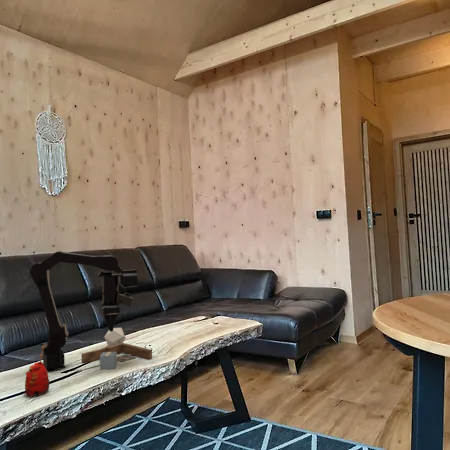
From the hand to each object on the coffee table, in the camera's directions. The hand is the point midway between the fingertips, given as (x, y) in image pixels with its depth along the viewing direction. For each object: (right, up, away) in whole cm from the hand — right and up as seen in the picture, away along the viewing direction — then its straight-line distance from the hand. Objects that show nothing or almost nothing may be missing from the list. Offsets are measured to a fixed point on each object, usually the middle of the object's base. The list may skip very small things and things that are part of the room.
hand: (110, 328), depth 160 cm
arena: (+2, -12, +1) cm, 13 cm away
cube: (+1, -12, -7) cm, 14 cm away
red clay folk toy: (-14, -12, -31) cm, 36 cm away
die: (-4, -14, +23) cm, 27 cm away
